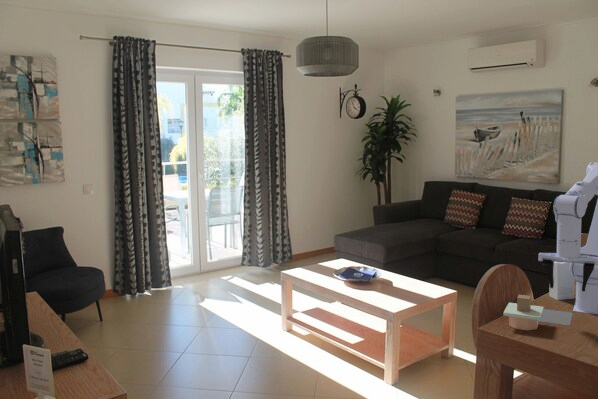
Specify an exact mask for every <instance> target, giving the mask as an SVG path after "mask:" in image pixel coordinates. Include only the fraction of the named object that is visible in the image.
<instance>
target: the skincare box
mask: <svg viewBox="0 0 598 399" xmlns="http://www.w3.org/2000/svg"><path fill="white" fill-rule="evenodd" d="M553 278H554V286H553V288H550V283H549V284H548V285H549V288H548V290H549V292H548V293H549V298H550V297H551V299H552V298H553V299H555V300H556V301H562V300H571V299H575V294H576V280H574V277H573V276H572V275H571V273H570V263H565V262H554V269H553Z"/></svg>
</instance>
